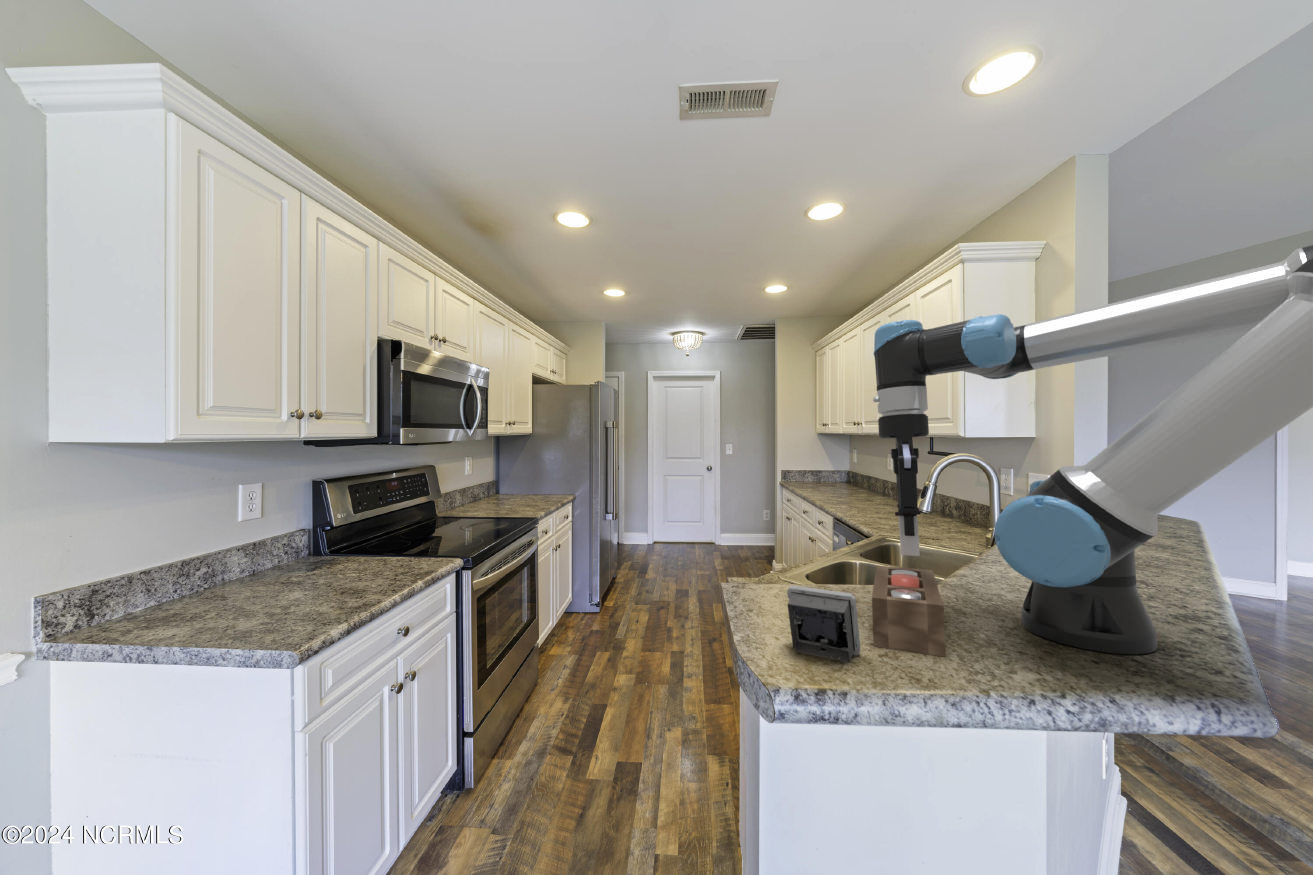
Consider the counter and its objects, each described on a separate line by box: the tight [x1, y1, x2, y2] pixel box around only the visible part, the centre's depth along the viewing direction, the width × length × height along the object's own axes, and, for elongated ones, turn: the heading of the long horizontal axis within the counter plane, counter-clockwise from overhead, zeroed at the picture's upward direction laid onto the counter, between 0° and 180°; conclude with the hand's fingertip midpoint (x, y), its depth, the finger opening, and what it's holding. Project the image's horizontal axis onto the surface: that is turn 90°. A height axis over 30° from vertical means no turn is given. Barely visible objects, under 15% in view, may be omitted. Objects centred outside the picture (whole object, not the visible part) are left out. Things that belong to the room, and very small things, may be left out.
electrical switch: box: [786, 585, 861, 664], centre depth 66 cm, size 9×5×9 cm, turn 57°
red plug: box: [891, 574, 919, 588], centre depth 76 cm, size 4×4×6 cm
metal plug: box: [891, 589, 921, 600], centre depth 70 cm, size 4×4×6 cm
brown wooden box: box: [871, 565, 946, 658], centre depth 76 cm, size 9×21×7 cm, turn 153°
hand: (910, 554), depth 78 cm, fingers closed
